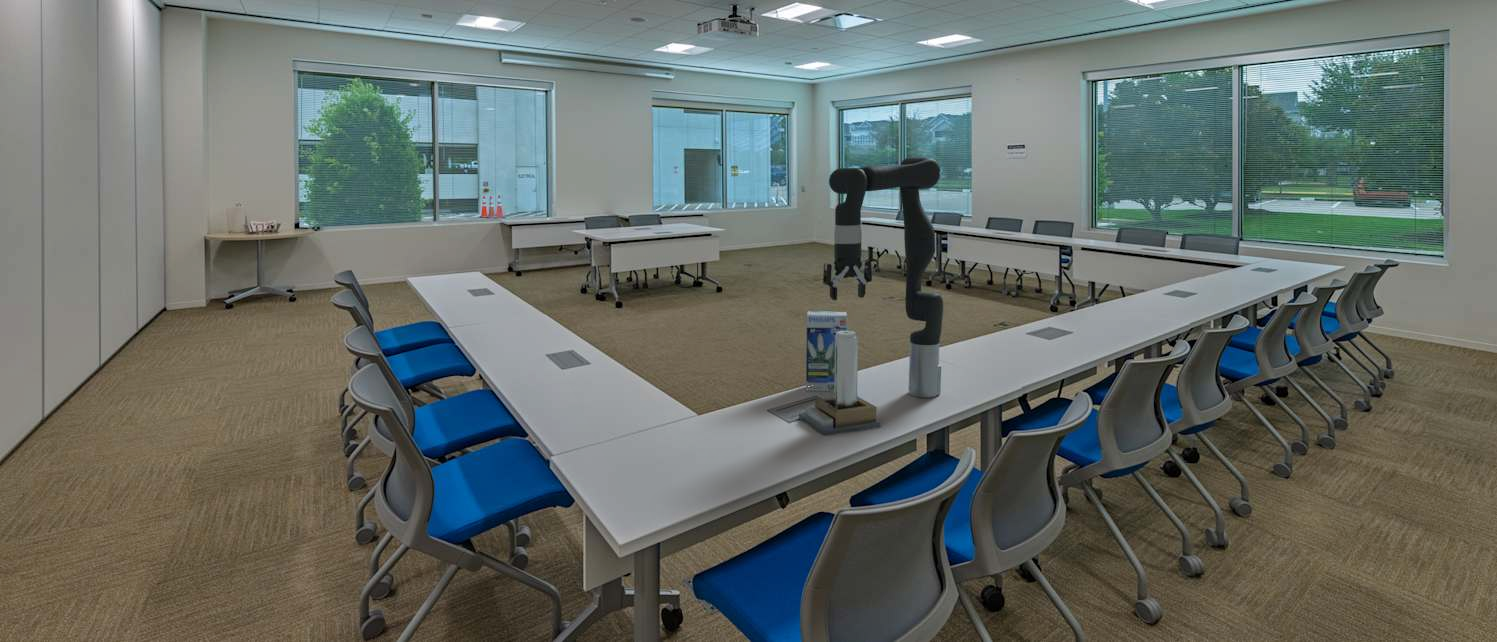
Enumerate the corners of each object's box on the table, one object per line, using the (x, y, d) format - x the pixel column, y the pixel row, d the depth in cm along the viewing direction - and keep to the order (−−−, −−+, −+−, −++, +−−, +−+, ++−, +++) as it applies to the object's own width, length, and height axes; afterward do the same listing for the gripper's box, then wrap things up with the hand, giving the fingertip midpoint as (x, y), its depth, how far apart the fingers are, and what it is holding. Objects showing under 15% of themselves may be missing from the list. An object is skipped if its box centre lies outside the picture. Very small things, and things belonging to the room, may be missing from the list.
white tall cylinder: (856, 420, 208) (857, 334, 204) (833, 419, 210) (833, 334, 205) (857, 413, 215) (858, 329, 210) (835, 412, 216) (835, 329, 211)
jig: (853, 410, 222) (853, 393, 221) (880, 426, 207) (880, 408, 206) (799, 418, 216) (799, 400, 215) (823, 435, 201) (823, 416, 200)
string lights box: (806, 391, 242) (806, 315, 237) (806, 385, 250) (806, 310, 245) (846, 392, 241) (847, 315, 236) (845, 385, 248) (846, 310, 243)
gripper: (863, 238, 210) (863, 294, 213) (818, 241, 205) (819, 298, 208) (877, 240, 203) (876, 298, 206) (831, 243, 198) (831, 302, 201)
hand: (847, 298), depth 207 cm, fingers open, 8 cm apart
